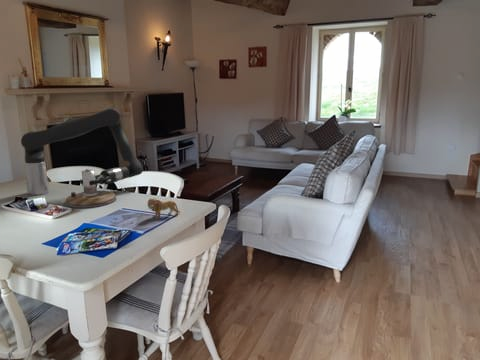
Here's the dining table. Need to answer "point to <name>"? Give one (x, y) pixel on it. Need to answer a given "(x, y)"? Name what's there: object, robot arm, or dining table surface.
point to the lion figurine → (162, 206)
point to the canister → (86, 177)
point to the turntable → (90, 198)
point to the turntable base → (91, 205)
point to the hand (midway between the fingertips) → (85, 182)
